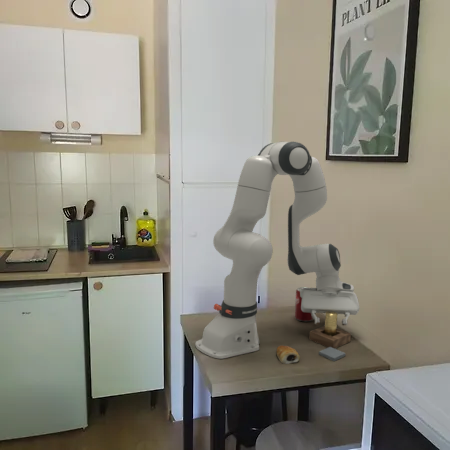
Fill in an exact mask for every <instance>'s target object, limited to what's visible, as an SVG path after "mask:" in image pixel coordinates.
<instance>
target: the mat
mask: <svg viewBox="0 0 450 450" xmlns="http://www.w3.org/2000/svg"><path fill="white" fill-rule="evenodd" d="M318 355H319V356H321V357H324V358H326V359H328V360H330V361H332V362H335V361H338V360H340V359H342V358H344V357H346V352H344V351H341V350H339V349H338V348H335V349H334V348H332V347H326V348H324V349H321V350H320V351H318Z"/></svg>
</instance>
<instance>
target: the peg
mask: <svg viewBox="0 0 450 450" xmlns="http://www.w3.org/2000/svg"><path fill="white" fill-rule="evenodd" d="M337 325H338V314H337V313H336V312H332V311H328V312H326V313H325V318H324V326H325V330H324V334H326V335H329V336H331V337H332V336H335V335H336V328H337V327H338V326H337ZM337 329H338V328H337Z"/></svg>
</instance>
